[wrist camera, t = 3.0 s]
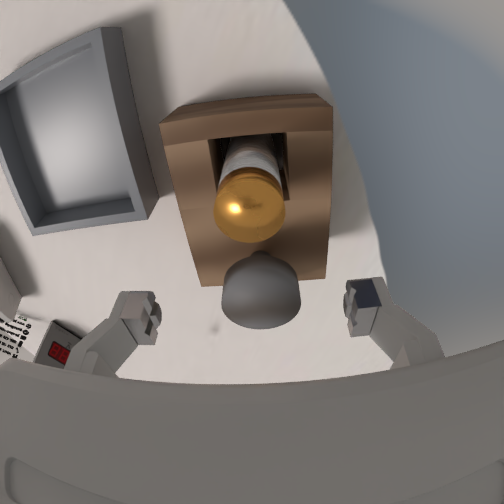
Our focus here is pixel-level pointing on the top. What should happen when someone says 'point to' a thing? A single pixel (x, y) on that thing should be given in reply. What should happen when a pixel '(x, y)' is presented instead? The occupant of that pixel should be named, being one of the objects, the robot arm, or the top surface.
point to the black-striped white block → (7, 296)
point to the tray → (75, 137)
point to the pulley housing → (294, 193)
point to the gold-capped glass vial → (250, 190)
